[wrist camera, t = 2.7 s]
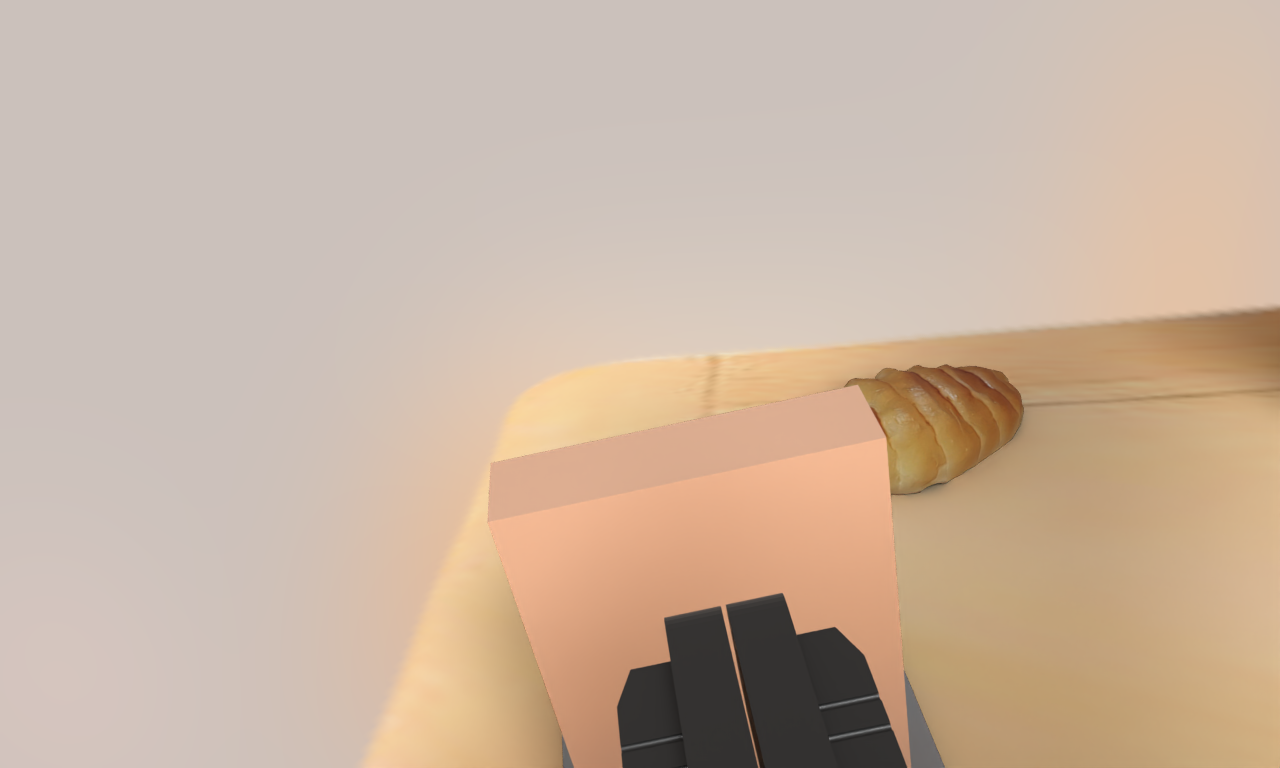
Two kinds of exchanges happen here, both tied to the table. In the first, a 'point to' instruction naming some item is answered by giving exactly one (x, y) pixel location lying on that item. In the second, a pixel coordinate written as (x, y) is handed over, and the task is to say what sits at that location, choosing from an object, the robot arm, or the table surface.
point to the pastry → (940, 420)
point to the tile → (699, 547)
